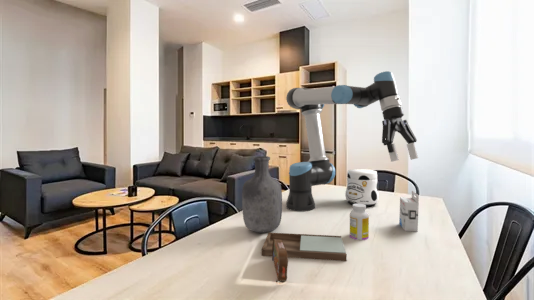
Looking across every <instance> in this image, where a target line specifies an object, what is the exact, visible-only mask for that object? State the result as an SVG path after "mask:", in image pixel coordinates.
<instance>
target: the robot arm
mask: <svg viewBox="0 0 534 300" xmlns="http://www.w3.org/2000/svg"><path fill="white" fill-rule="evenodd" d="M396 83H397V82H396V80H395V77H394V74H393V72H392V71H387V70H386V71H383V72H379V73H377V74H376V75H375V76H374V77H373V83H371V84H370V85H367V86H366V87H364V86H363V87H361V86H353V85H352V86H351V85H346V84H338V85H336V86H330V87H321V88H320V87H319V88H305V87H293V88H291V89H290V90H289V91H288V92H287V94H286V97H285V99H286V103H287V105H288V106H289V107H290V108H292V109H295V110H300V111H301V115H302V116H304V120H305V121H304V123H305V129H306V136H307V137H306V138H307V142H308V143H307V145H308V151H309V159H308V160H307V161H302V162H301V161H299V162H298V161H297V162H294V163H292V164H291V165H290V166H289V170H288V176H289V178H288V181H289V182H288V183H289V192H288V196H287V199H286V203H285V206H286V208H287V210H288V209H289V210H290V209H291V210H290V211H298V212H306V211H307V212H308V211H312V210H314V209H316V203H315V199H314V197H313V196H314V195H313V193H312V187H313V186H314V187H315V186H321V185H323V186H325V185H326V184H330V183H332V181H334V179H335V176H336V168H335V166H334V165H333V163H331V162H330V158H329V157H327V156H326V155H327V154H326V147H325V139H324V135H323V134H324V133H323V128H322V127H323V126H322V119H321V113H322V112H323V108H324V107H325V105H353V106H354V107H356V108H357V109H362V108H367V107H368V106H370V105H372V104H374V103H376V102H378V101H379V105H380V110H381V113H382V117H383V120H382V122H381V123H382V132H381V133H382V135H381V143H382V144H383V146H386V147H387V151H388V153H389V154H388V155H389V159H390V162H396V161H400V160H399V155H398V152H397V148H396V145H395V144H396V143H395V142H394V139H395V135H396V132H397V133H398V134H400V135H401V137H402V138H403V139H404V140H405V142H406V143H407V144H406V147H407V151H408V155H409V157H410V160H416V159H418V158H419V157H418V153H417V149H416V145H415V143H417V141H418V140H417V137H416V136H415V134H414V133H413V130H412V128H411V126H410V125H409V122H408V120H407V119H404V120H403V119H402V117H403V116H404V115H405V114H404V110H403V107H402V102H401V98H400V96H399V91H398V89H397V84H396Z"/></svg>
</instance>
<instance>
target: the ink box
mask: <svg viewBox="0 0 534 300" xmlns="http://www.w3.org/2000/svg"><path fill="white" fill-rule="evenodd" d="M419 197H420V196H419V194H418V193H417V192H415V191H413V190H411V197H405V196H404V197H403V196H402V197H399V222H398V224H399V225H400V227H402V229H403V231H404V232H405V231H406V232H418V231H419V230H418V229H419V201H420V199H419Z"/></svg>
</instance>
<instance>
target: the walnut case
mask: <svg viewBox="0 0 534 300" xmlns="http://www.w3.org/2000/svg"><path fill="white" fill-rule="evenodd" d="M301 235H302V236H322V237H341V238H342V236H341V235H325V234H323V235H322V234H306V233H305V234H304V233H286V232H267V235H266V238H265V240H264V243H263V245H262V247H261V250H260V251H261V252H260V253H261V256H262V257H272V245H273V240H274V239H278V240H282V241H283V243H284V245H285V248H286V251H287V256H288V259H305V260H306V259H307V260H321V261H323V260H324V261H338V262H347V259H348V258H347V252H346V253H331V252H314V251H300V243H301Z"/></svg>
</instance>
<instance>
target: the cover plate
mask: <svg viewBox="0 0 534 300" xmlns="http://www.w3.org/2000/svg"><path fill="white" fill-rule="evenodd" d="M300 251H314V252H331V253H346V254H347V252H346V248H345V245H344V241H343V238H342V236H341V237H322V236H302V235H301V243H300Z"/></svg>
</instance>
